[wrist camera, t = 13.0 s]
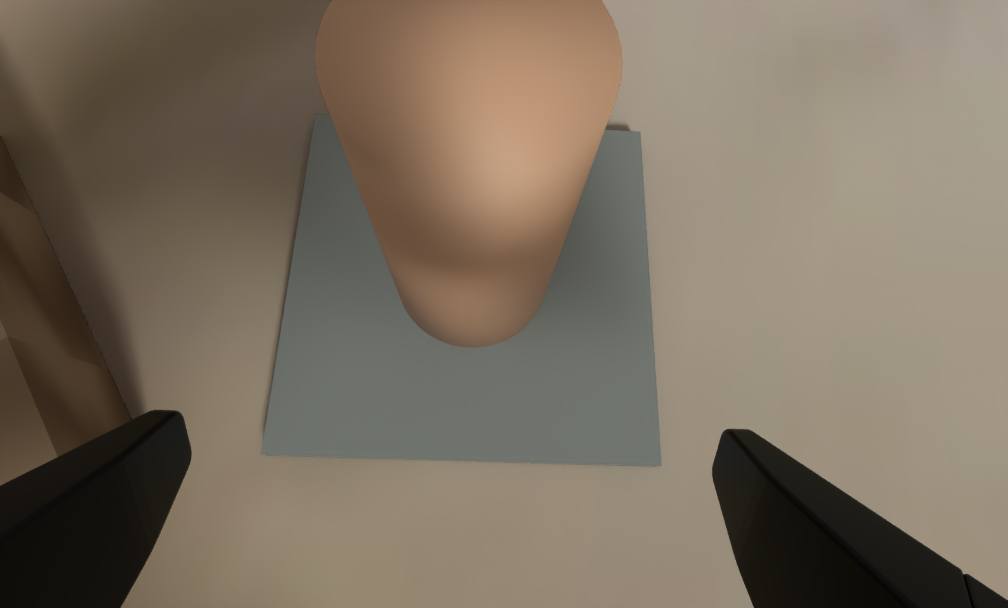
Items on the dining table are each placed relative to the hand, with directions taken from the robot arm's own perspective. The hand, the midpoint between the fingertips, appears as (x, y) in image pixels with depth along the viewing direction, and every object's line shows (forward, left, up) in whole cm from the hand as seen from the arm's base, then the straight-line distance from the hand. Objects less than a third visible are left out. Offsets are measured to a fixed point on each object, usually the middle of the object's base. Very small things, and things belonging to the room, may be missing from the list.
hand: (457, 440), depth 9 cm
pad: (+2, -6, -8) cm, 10 cm away
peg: (+2, -6, -8) cm, 10 cm away
